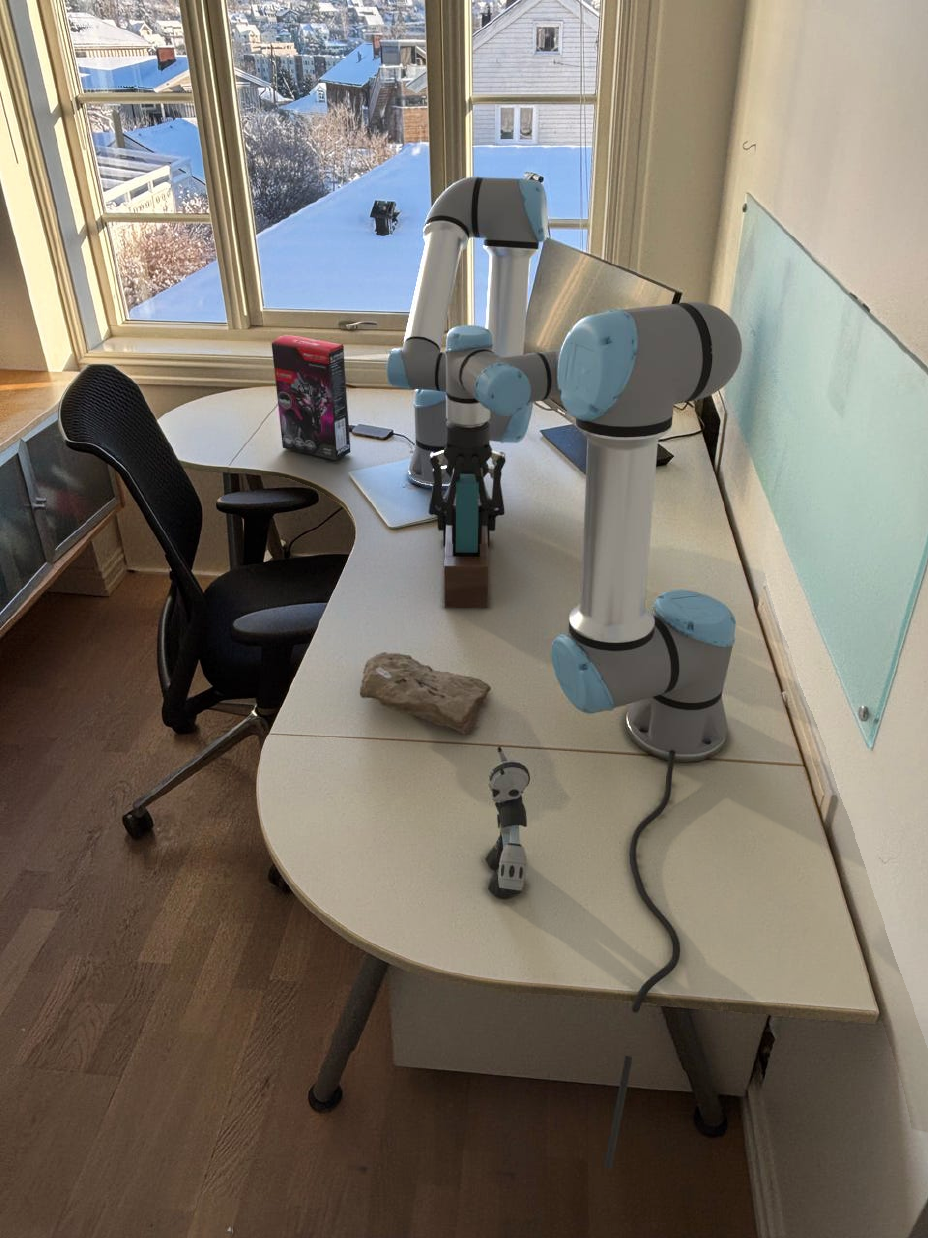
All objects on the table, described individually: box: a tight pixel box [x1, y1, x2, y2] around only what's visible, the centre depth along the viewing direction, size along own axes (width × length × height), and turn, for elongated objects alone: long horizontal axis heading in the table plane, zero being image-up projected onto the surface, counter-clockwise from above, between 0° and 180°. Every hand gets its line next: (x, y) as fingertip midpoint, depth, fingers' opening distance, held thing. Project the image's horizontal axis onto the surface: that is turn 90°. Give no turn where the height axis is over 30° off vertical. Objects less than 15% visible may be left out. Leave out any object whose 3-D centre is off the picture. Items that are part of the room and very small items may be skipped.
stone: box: [359, 651, 492, 735], centre depth 146 cm, size 21×15×6 cm
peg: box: [455, 474, 479, 553], centre depth 167 cm, size 4×4×14 cm
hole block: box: [443, 496, 489, 609], centre depth 181 cm, size 28×8×9 cm, turn 0°
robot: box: [485, 746, 531, 899], centre depth 114 cm, size 20×5×20 cm, turn 3°
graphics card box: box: [271, 334, 351, 461], centre depth 223 cm, size 17×7×27 cm, turn 62°
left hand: (466, 543), depth 191 cm, fingers closed on hole block, 8 cm apart
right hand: (466, 539), depth 170 cm, fingers closed on peg, 4 cm apart
